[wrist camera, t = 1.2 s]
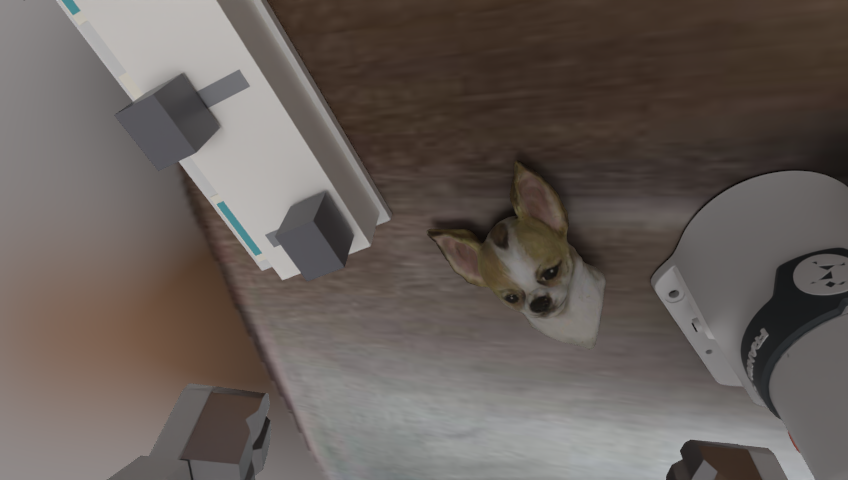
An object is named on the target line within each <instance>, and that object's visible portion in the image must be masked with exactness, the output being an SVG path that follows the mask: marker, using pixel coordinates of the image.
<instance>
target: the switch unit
mask: <svg viewBox="0 0 848 480" xmlns="http://www.w3.org/2000/svg"><path fill="white" fill-rule="evenodd" d="M56 1H57V2H58V4H59V5H60V7H61V8H62V9H63V10H64V12H65V13H66V14H67V15H68V17H69V18H70V19H71V21H72V22H73V24H74V25H75V26H76V28H77V29H78V30H79V31H80V33H81V34H82V35H83V37H84V38H85V39H86V41H87V42H88V43H89V45H90V46H91V47H92V48H93V50H94V51H95V52H96V54H97V55H98V56H99V57H100V59H101V60H102V62H103V63H104V64H105V66H106V67H107V68H108V69H109V71H110V72H111V73H112V75H113V76H114V77H115V79H116V80H117V81H118V83H119V84H120V85H121V86H122V88H123V89H124V90H125V92H126V93H127V94H128V96H129V97H130V98H131V99H132V101H133V102H134V101H135V100H136V99H138V98H139V97H141V96H142V95H144V94H145V93H146V92H148V91H150V90H152V89H154V88H156V87H158V86H159V85H161V84H163V83H165V82H167V81H169V80H170V79H172V78H174V77H176V76H178V75H180V74H181V73H182V74H183V75H184V77H185V78H186V80H187V81H188V82H189V84H190V85H191V87H192V88H193V90H194V91H195V92H196V94H197V95H198V97H199V98H200V100H201V101H202V102H203V104H204V105H205V107H206V108H207V110H208V111H209V112H210V114H211V115H212V117H213V118H214V120H215V121H216V122H217V124H218V125H219V127H220V128H219V130H218V131H217V132H216V133H215V134H214V135H213V136H212V137H211V138H210V139H209V140H208V141H207V142H206V143H205V144H204V145H203V146H202V147H201V148H200V149H199V150H198V152H197V153H195V154H193V155H191V156H189V157H187V158H185V159H182V160H180V161H179V162H180V164H181V165H182V166H183V168H184V169H185V170H186V172H187V173H188V174H189V176H190V177H191V178H192V179H193V181H194V182H195V183H196V185H197V186H198V187H199V189H200V190H201V191H202V193H203V194H204V195H205V197H206V198H207V199H208V200H209V202H210V203H211V204H212V206H213V207H214V208H215V210H216V211H217V212H218V214H219V215H220V216H221V217H222V219H223V220H224V221H225V223H226V224H227V225H228V227H229V228H230V229H231V231H232V232H233V233H234V235H235V236H236V237H237V238H238V240H239V241H240V242H241V244H242V245H243V246H244V248H245V249H246V250H247V252H248V253H249V254H250V255H251V257H252V258H253V259H254V261H255V262H256V263H257V265H258V266H259V267H260V269H261V270H262V271H263V270H265V269H268V268H270V267H273V268H274V269H275V271H276V272H277V273H278V275H279V276H280V277H281V279H282V280H284V279H286V278H289V277H292V276H294V275H297V274H299V273H301V272H300V271H299V270H298V268H297V267H296V265H295V264H294V263H293V261H292V260H291V259H290V257H289V256H288V254H287V253H286V252H285V250H284V249H283V248H282V246H281V245H280V243H279V242H278V241H277V239H276V238H275V235H276V233H277V231H278V229H279V227H280V225H281V223H282V222H283V220H284V218H285V216H286V214H287V212H288V210H289V208H290V206H293V205H295V204H297V203H300V202H302V201H304V200H307V199H309V198H311V197H314V196H316V195H318V194H321V193H323V192H325V191H326V192H327V194H328V195H329V197H330V198H331V200H332V201H333V203H334V205H335V206H336V208H337V209H338V211H339V212H340V214H341V216H342V217H343V219H344V220H345V222H346V223H347V225H348V226H349V228H350V230H351V231H352V233H353V234H354V238H353V241H352V245H351V248H350V251H349V254H351V253H354V252H357V251H359V250H362V249H364V248H367V247H370V246H371V244H372V240H373V236H374V232H375V228H376V225H379V224H381V223H384V222H387V221H389V220H391V216H392V213H391V211H390V209H389V208H388V206H387V204H386V203H385V201H384V199H383V197H382V196H381V194H380V192H379V191H378V189H377V187H376V186H375V184H374V182H373V180H372V179H371V177H370V175H369V174H368V172H367V170H366V169H365V167H364V165H363V163H362V162H361V160H360V158H359V157H358V155H357V153H356V152H355V150H354V148H353V146H352V145H351V143H350V141H349V140H348V138H347V136H346V135H345V133H344V131H343V129H342V128H341V126H340V124H339V123H338V121H337V119H336V118H335V116H334V114H333V112H332V111H331V109H330V107H329V106H328V104H327V102H326V101H325V99H324V97H323V95H322V94H321V92H320V90H319V89H318V87H317V85H316V83H315V82H314V80H313V78H312V77H311V75H310V73H309V72H308V70H307V68H306V66H305V65H304V63H303V61H302V60H301V58H300V56H299V55H298V53H297V51H296V49H295V48H294V46H293V44H292V43H291V41H290V39H289V38H288V36H287V34H286V32H285V31H284V29H283V27H282V26H281V24H280V22H279V21H278V19H277V17H276V15H275V14H274V12H273V10H272V9H271V7H270V5H269V4H268V2H267V0H56ZM349 254H348V255H349Z"/></svg>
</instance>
